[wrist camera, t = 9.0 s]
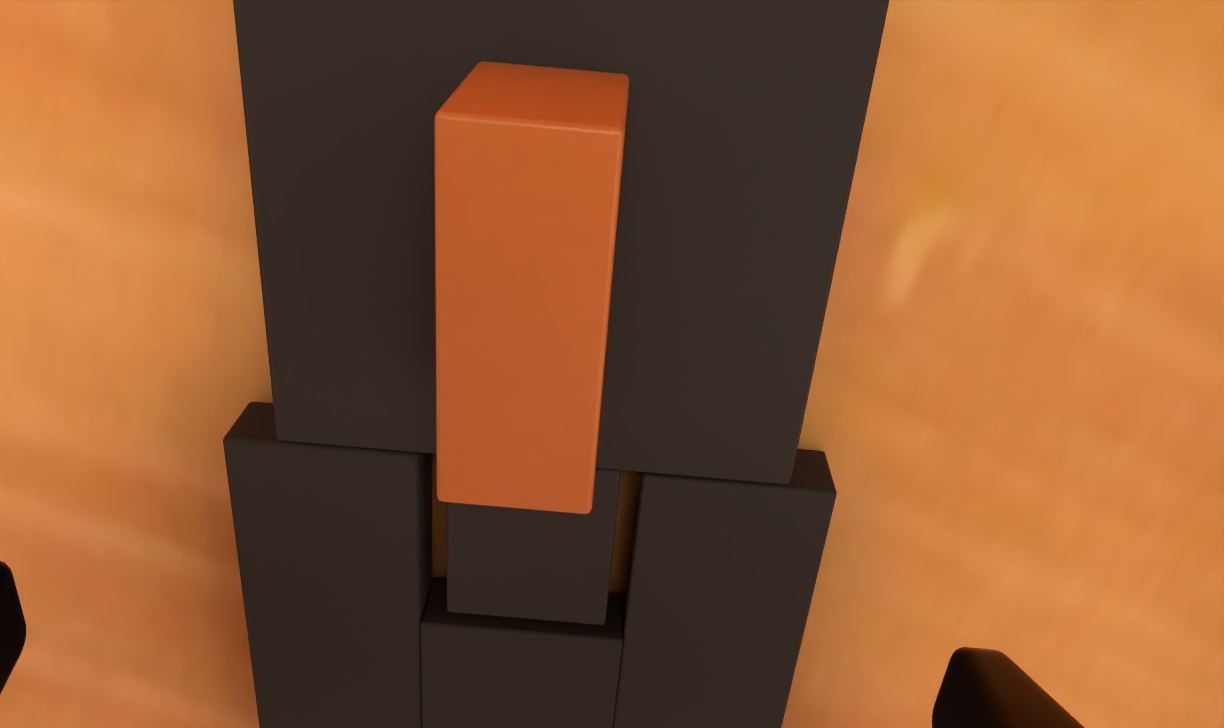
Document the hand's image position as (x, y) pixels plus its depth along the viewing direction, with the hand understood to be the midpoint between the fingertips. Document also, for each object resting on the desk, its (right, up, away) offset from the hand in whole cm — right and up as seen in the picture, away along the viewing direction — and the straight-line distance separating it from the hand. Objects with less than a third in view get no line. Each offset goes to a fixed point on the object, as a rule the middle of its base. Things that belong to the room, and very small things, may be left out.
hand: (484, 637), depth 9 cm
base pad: (-1, -4, +13) cm, 14 cm away
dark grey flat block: (0, +4, +9) cm, 10 cm away
